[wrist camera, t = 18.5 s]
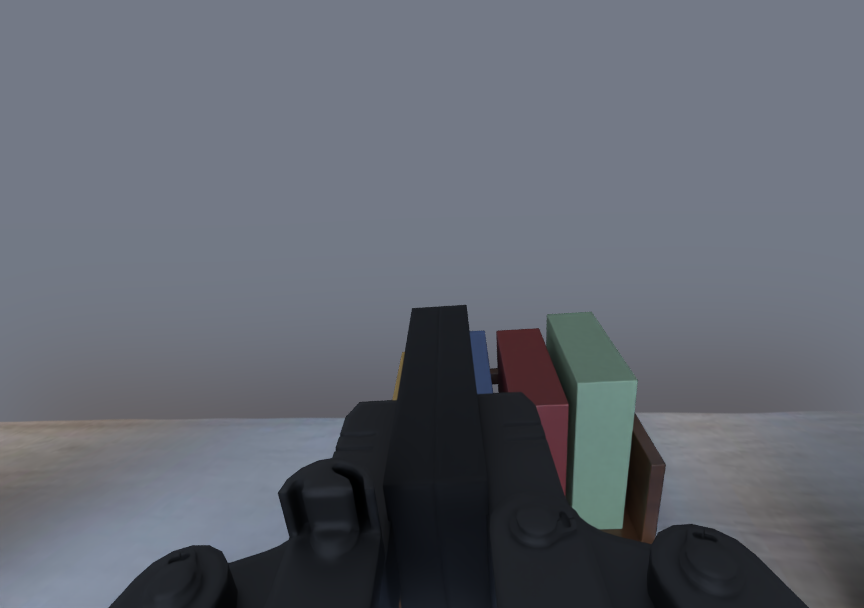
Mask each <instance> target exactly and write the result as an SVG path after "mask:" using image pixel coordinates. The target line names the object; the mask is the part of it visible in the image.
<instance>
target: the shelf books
mask: <svg viewBox="0 0 864 608" xmlns="http://www.w3.org/2000/svg"><path fill="white" fill-rule="evenodd" d="M496 333H497V362H498V391H499V393H505V392H522V393H524V394H525V395H526V396H527V397H528V398H529V399H530V400H531V401H532V402H533V403H534V404H535V405H536V407H537V410H538V414H539V417H540V420H541V425H542V426H543V429H544V432H545V435H546V440H547V442H548V445H549V448H550V451H551V454H552V457H553V461H554V464H555V467H556V470H557V473H558V476H559V479H560V482H561V486H562V489H563V492H564V495H565V496H566V469H567V441H568V414H569V404H568V401H567V399H566V396H565V393H564V391H563V388H562V386H561V383H560V381H559V378H558V376H557V373H556V370H555V368H554V365H553V363H552V360H551V358H550V355H549V352H548V350H547V347H546V345H545V342H544V340H543V338H542V335H541V332H540V330H539V328H536V329H521V330H520V329H519V330H502V331H497V332H496ZM404 354H405V352H402V356H401V361H400V365H399V370H398V375H397V381H396V385H395V390H394V395H393V399H392V400H397V396H398V390H399V384H400V378H401V372H402V366H403V360H404Z"/></svg>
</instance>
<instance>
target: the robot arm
mask: <svg viewBox="0 0 864 608" xmlns="http://www.w3.org/2000/svg"><path fill="white" fill-rule="evenodd" d="M468 323H469V322H468V314H467V306H466V305H457V306H441V307H425V308H412V312H411V318H410V325H409V331H408V336H407V343H406V348H405V354H404V360H403V366H402V372H401V378H400V384H399V390H398V396H397V400H387V401H369V402H359V404H357V406H356V407H355V408H354V409H353V410H352V411H351V412H350V413H349V414H348V415H347V416H346V418H345V421H344V424H343V427H342V430H341V433H340V437H339V439H338V442H337V445H336V452H334V454H333V457H332V458H330V459H324V460H319V461H316V462H314V463H312V464H310V465H307V466H305V467H303V468H301V469H300V470H298V471H297V472H296V473H295V474H293V475H292V476H291V477H290V478H288V479H287V480H286V482H285V483H284V485H283V486H282V488H281V489H280V491H279V492H278V495H279V499H280V503H281V507H282V510H283V514H284V518H285V522H286V525H287V529H288V533H289V537H290V538H289V540H288V541H286V542H284V543H283V544H281V545H280V546H277V547H275V548H273V549H270V550H268V551H265V552H262V553H259V554H256V555H253V556H250V557H247V558H244V559H241V560H237V561H234V562H231V563H228V562H227V560H226V558H225V556H224V554H223V553H222V551H220V550H218V549H216V548H214V547H212V546H210V545H192V546H189V547H186V548H182V549H179V550H176V551H173V552H171V553H169V554H168V555H166V556H164V557H162V558H161V559H159V560H157V561H155V562H154V563H152V564H151V565H150V566H149V567H148V568H147V569H145V570H144V571H143V572H142V573H141V574H140V575H139V576H137V577H136V578H135V579H134V580H133V581H132V582H131V584H130V585H129V586H128V587H127V588H126V589H125V590H124V591H123V592H122V593H121V595H120V596H119V597H118V598H117V599H116V600H115V601H114V602H113V603H112V604H111V606H110V607H109V608H399V602H401V608H809V607H808V606H807V605H806V604H805V603H804V602H803V601H802V600H801V599H800V598H799V597H798V596H797V595H796V594H795V593H794V592H793V591H792V590H791V589H790V588H789V587H788V586H786V585H785V584H784V583H783V582H782V581H781V580H780V579H779V578H778V577H777V576H776V575H775V574H774V573H773V572H772V571H771V570H770V569H769V568H768V567H767V566H766V565H765V564H764V563H763V562H762V561H761V560H760V559H759V558H758V557H757V556H756V555H755V554H754V553H753V552H751V551H750V550H749V549H748V548H746V547H745V546H744V545H742V544H741V543H740V542H739V541H737V540H736V539H734V538H732V537H730V536H728V535H726V534H723V533H721V532H719V531H717V530H715V529H712V528H708V527H703V526H698V525H694V524H685V525H672V526H671V527H669V528H667V529H665V530H663V531H661V532H659V533H658V534H657V536H656V538H655V540H654V541H653V543H652V544H648V543H644V542H640V541H635V540H631V539H627V538H623V537H619V536H615V535H612V534H609V533H606V532H603V531H601V530H599V529H597V528H596V527H594V526H592V525H590V524H588V523H587V522H586V521H585V520H583V519H582V518H581V517H580V516H579V515H578V513H577V511H576V510H575V509H573V508H572V507H571V506H570V505H569V503H568V501H567V499H566V497H565V495H564V492H563V489H562V486H561V482H560V479H559V476H558V473H557V470H556V467H555V464H554V461H553V457H552V454H551V451H550V448H549V445H548V442H547V440H546V435H545V432H544V429H543V426H542V425H541V420H540V417H539V414H538V410H537V407H536V405H535V404H534V403H533V402H532V401H531V400H530V399H529V398H528V397H527V396H526V395H525V394H524V393H522V392H505V393H487V394H477V389H476V380H475V372H474V364H473V356H472V347H471V339H470V331H469V324H468Z"/></svg>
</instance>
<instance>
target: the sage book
mask: <svg viewBox="0 0 864 608" xmlns="http://www.w3.org/2000/svg"><path fill="white" fill-rule="evenodd" d="M546 347H547V350H548V352H549V355H550V358H551V360H552V363H553V365H554V368H555V370H556V373H557V376H558V378H559V381H560V383H561V386H562V388H563V391H564V393H565V396H566V399H567V401H568V404H569V414H568V441H567V469H566V496H565V497H566V499H567V501H568V503H569V505H570V506H571V507H572V508H573V509H575V510H576V511H577V513H578V515H579V516H580V517H581V518H582V519H583V520H585V521H586V522H587V523H588V524H590V525H592V526H594V527H596V528H597V529H622V527H623V517H624V507H625V498H626V488H627V479H628V469H629V460H630V450H631V441H632V431H633V422H634V412H635V403H636V392H637V384H638V380H637V379H636V377H635V376H634V374H633V373H632V371H631V370H630V368H629V367H628V365H627V364H626V362H625V361H624V359H623V358H622V356H621V355H620V353H619V352H618V350H617V349H616V347H615V346H614V344H613V343H612V341H611V340H610V339H609V337H608V336H607V334H606V332H605V331H604V329H603V328H602V326H601V325H600V323H599V322H598V321H597V319H596V318H595V316H594V315H593V313H592V312H580V313H564V314H548V315H547V340H546Z"/></svg>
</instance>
